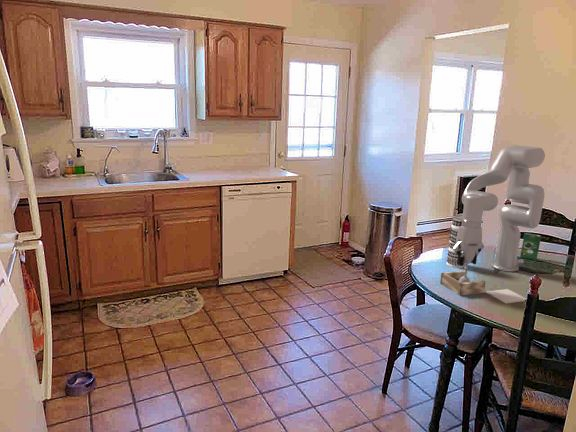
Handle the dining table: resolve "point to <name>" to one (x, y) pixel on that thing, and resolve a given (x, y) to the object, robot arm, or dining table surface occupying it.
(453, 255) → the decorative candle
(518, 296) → the mat
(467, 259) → the chalice
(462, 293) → the cubby
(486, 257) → the dining table surface
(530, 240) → the coffee box
